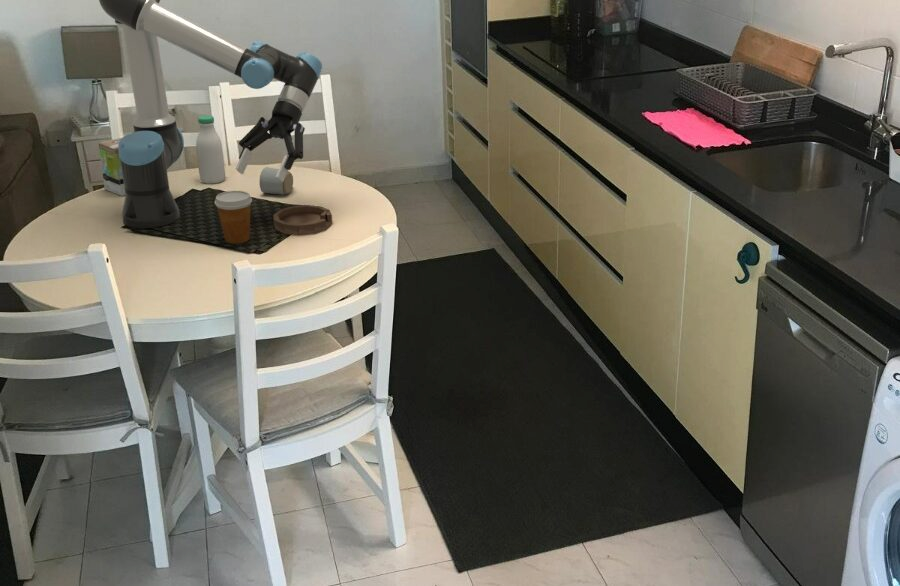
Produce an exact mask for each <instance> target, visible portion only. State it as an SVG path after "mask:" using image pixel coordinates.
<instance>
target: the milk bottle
mask: <svg viewBox="0 0 900 586" xmlns="http://www.w3.org/2000/svg"><path fill="white" fill-rule="evenodd" d="M197 121H198V125H199V132H198V135H197V136H196V137H197V138H196V145H195V146H196V148H195V149H196V157H197V166H198V174H199V181H200V182H201V183H202V184H210V185H212V184H219V183H221V182H225V180H226V170H225V169H226V168H225V167H226V166H225V159H224V152H223V146H222V145H223V143H222V141H221V138H220V136H219V134H218V132H217V130H216V127H215V126H214V125H215V118H214V115H209V114H207V115H205V114H204V115H200V116H199V117H198V118H197Z"/></svg>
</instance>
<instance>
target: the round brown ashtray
mask: <svg viewBox="0 0 900 586" xmlns="http://www.w3.org/2000/svg"><path fill="white" fill-rule="evenodd" d="M272 218H273V226H275V227H274V230H275V229H276V230H278V231H277V232H279V231H280V232H279V233H281V232H282V233H281V234H283V233H284V235H293V236H307V235H315V234H318V233H319V234H320V233H322V232H324V231H327V230H328V229H329V228H331V226H332V225H333V216H332V212H331V210H330V209H329V208H327V207H323V206H320V205H311V204H301V205H291V206H288V207H285V208H281V209H278V211H276V212H275V213H274V214H273V215H272ZM276 230H275V231H276Z"/></svg>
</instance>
